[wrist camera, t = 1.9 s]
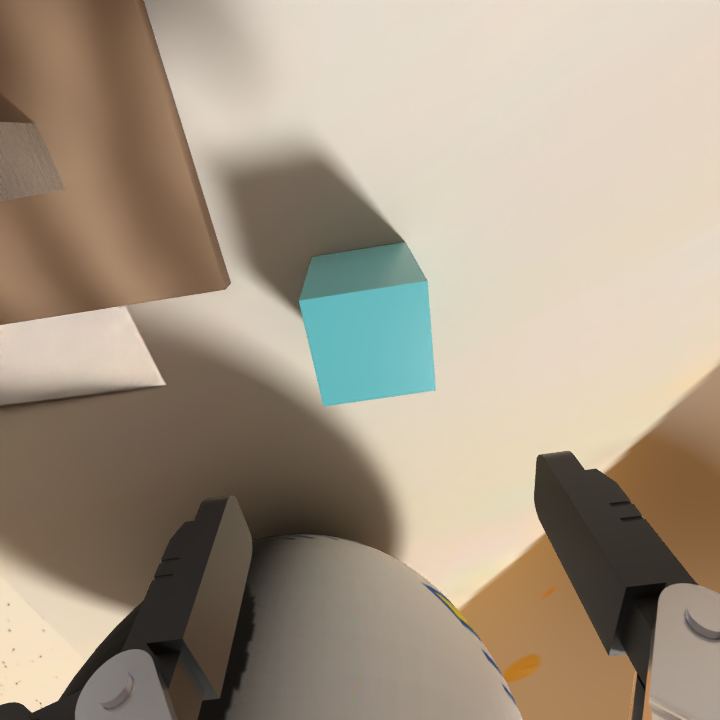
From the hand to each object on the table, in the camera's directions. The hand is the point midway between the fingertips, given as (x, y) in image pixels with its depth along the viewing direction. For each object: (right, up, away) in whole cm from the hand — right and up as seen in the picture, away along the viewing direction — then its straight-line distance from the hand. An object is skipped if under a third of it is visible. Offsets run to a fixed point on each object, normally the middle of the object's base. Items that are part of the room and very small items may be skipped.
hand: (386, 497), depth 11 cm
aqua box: (0, +8, +15) cm, 17 cm away
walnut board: (-18, +14, +11) cm, 25 cm away
